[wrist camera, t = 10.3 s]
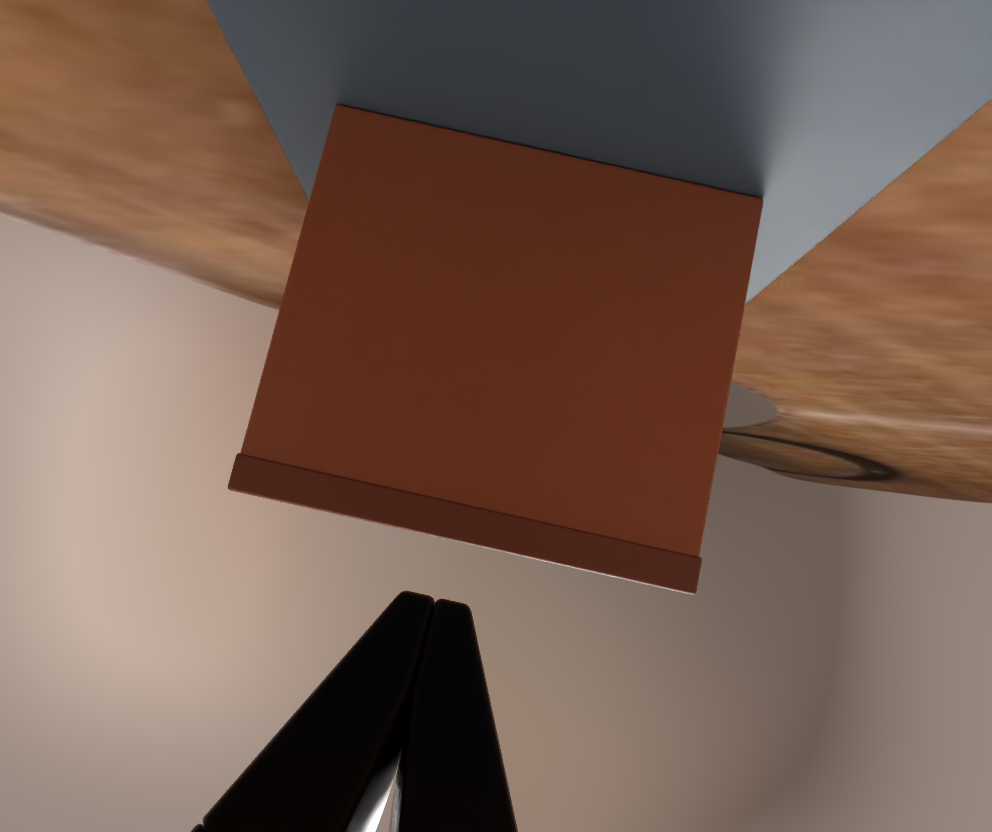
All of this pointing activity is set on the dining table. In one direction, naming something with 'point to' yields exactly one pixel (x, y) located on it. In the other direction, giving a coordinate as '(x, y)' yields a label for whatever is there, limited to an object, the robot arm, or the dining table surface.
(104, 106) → the dining table surface
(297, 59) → the mat
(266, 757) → the robot arm
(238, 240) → the dining table surface
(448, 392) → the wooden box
